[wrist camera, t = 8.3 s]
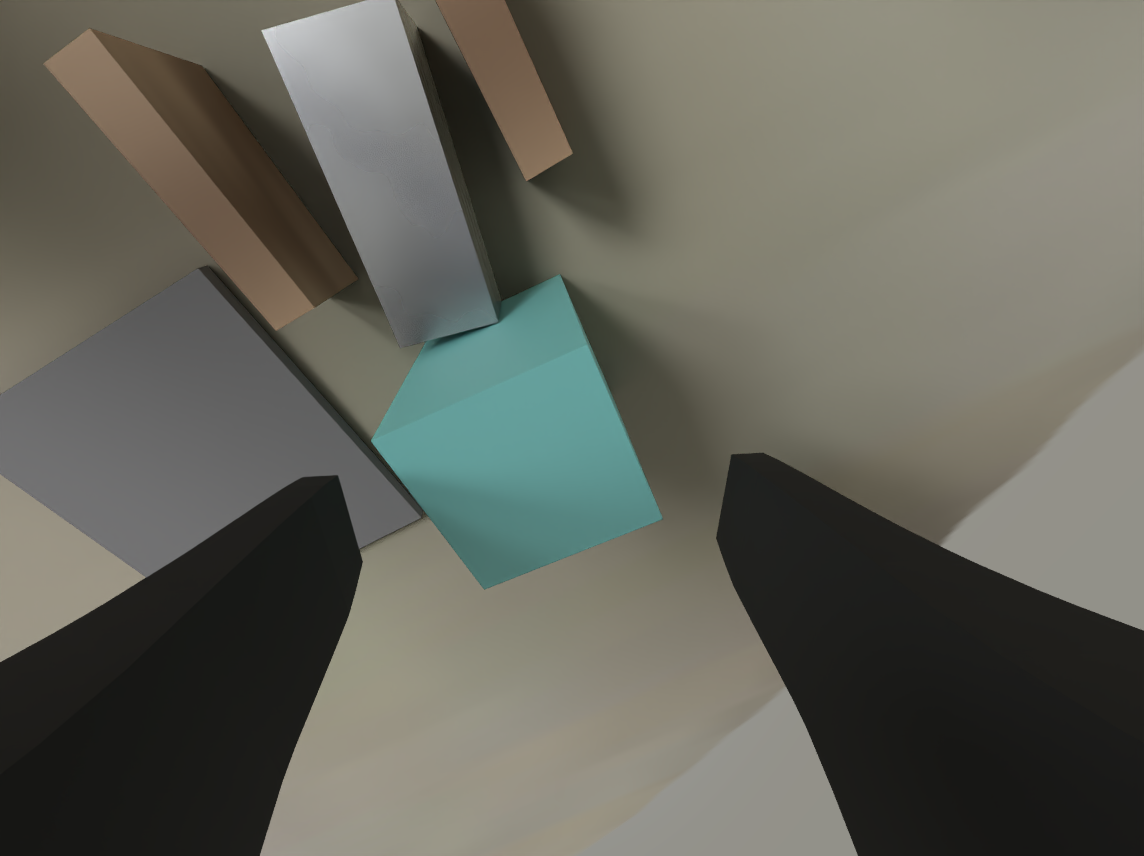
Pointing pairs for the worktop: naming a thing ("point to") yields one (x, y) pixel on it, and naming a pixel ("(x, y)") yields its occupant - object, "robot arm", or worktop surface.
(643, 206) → the worktop surface
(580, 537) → the block
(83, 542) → the worktop surface
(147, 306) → the coaster
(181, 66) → the channel
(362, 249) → the rod
